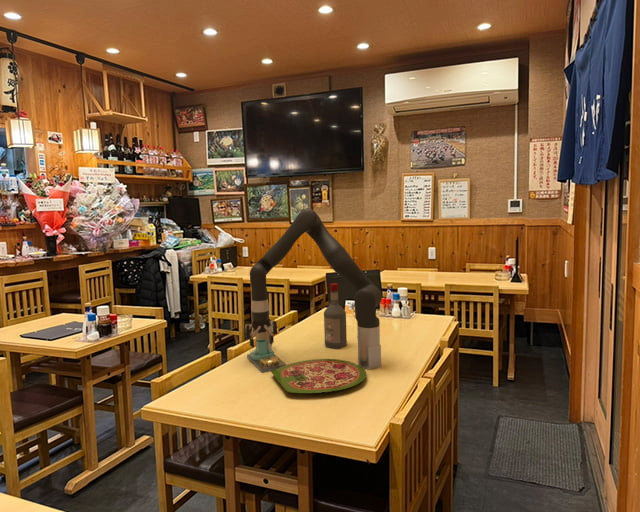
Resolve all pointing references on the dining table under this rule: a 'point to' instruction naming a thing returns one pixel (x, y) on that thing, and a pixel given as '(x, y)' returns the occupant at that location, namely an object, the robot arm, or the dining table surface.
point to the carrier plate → (265, 368)
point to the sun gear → (269, 361)
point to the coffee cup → (265, 336)
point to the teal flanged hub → (261, 350)
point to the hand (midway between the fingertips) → (261, 345)
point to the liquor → (335, 322)
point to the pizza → (319, 375)
